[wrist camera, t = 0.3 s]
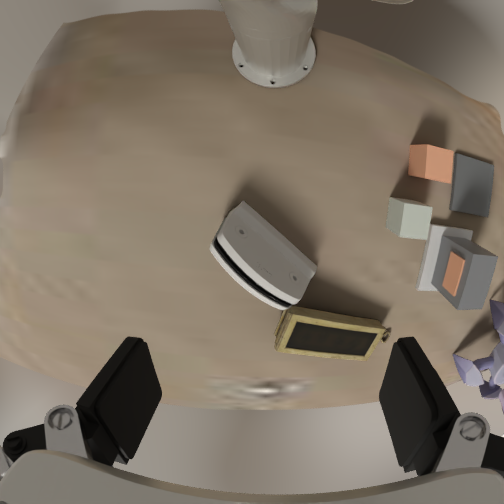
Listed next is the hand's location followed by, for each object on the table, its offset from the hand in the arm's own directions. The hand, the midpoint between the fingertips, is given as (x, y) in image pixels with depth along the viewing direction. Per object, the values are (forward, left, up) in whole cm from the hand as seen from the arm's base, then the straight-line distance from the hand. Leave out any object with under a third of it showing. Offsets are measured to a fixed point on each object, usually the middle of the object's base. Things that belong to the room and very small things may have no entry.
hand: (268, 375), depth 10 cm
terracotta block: (-10, +23, -36) cm, 44 cm away
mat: (-8, +35, -36) cm, 51 cm away
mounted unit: (+6, +31, -36) cm, 48 cm away
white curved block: (+7, -2, -36) cm, 37 cm away
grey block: (-1, +20, -36) cm, 41 cm away
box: (+21, +12, -36) cm, 43 cm away
